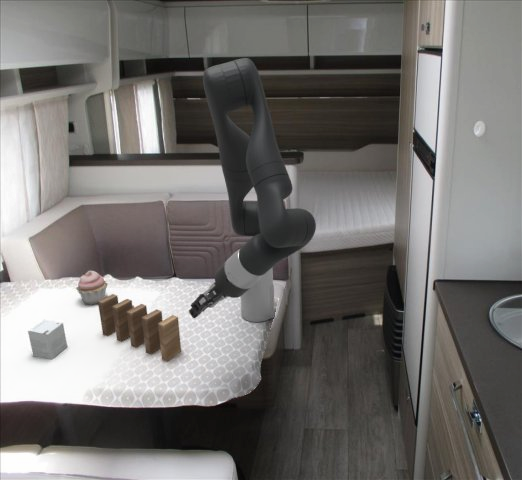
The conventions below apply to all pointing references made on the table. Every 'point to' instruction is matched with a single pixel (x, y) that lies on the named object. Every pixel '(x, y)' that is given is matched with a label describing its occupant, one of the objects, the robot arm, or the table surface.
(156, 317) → the domino
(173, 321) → the domino
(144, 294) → the table surface
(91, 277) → the cupcake
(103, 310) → the domino
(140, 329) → the domino
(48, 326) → the skincare box
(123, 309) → the domino
